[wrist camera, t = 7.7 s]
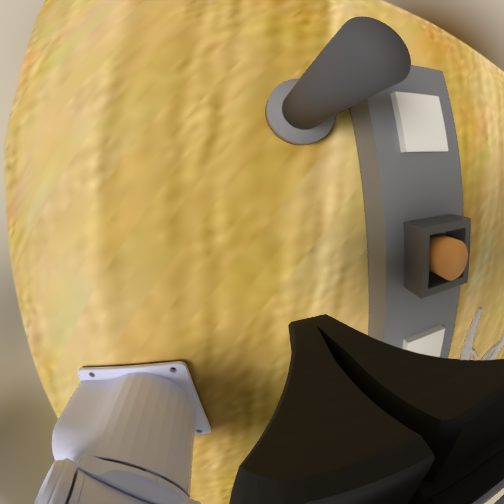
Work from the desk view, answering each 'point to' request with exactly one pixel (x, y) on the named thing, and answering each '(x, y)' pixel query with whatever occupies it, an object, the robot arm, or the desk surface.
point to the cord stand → (338, 80)
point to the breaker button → (447, 256)
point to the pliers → (470, 337)
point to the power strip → (410, 209)
